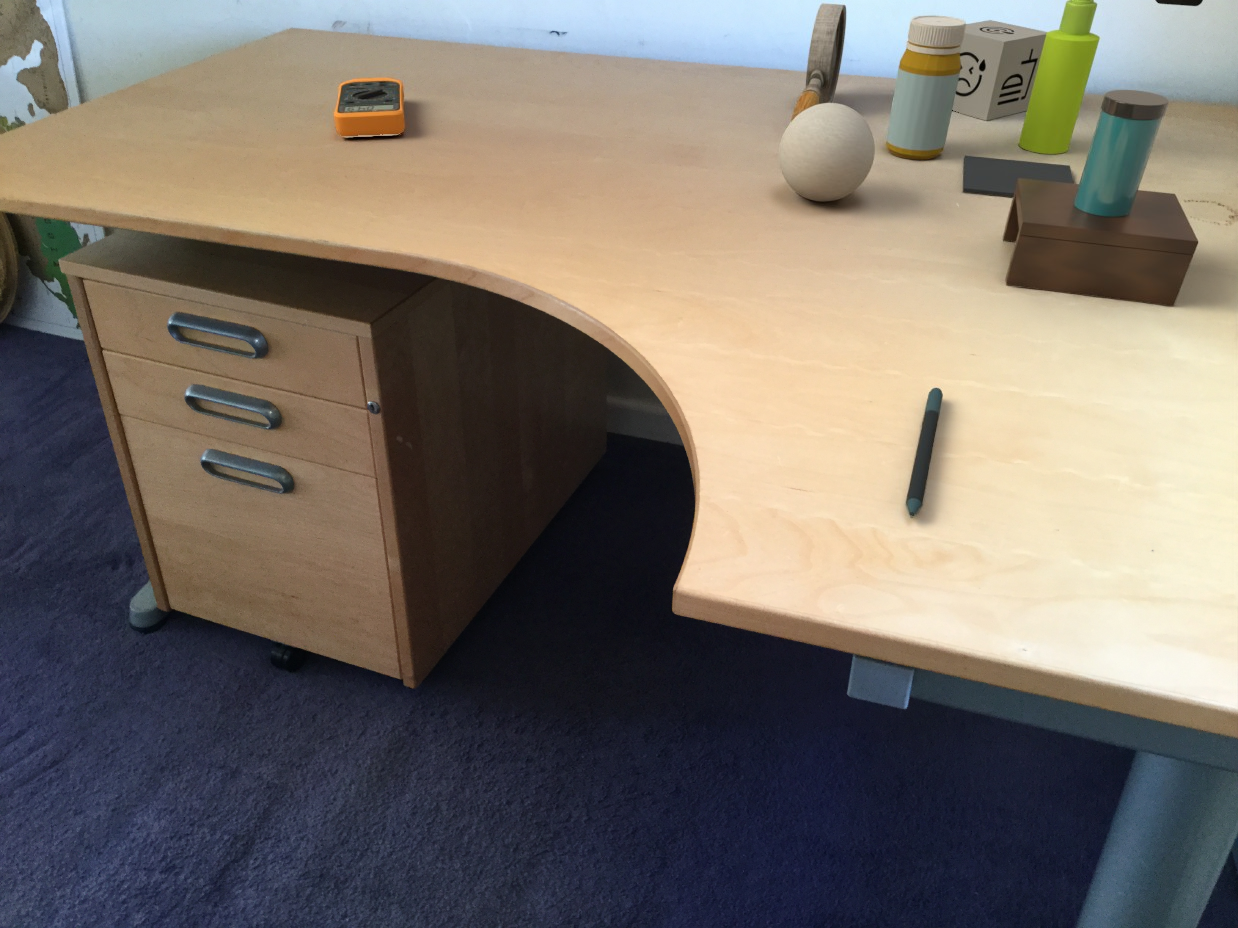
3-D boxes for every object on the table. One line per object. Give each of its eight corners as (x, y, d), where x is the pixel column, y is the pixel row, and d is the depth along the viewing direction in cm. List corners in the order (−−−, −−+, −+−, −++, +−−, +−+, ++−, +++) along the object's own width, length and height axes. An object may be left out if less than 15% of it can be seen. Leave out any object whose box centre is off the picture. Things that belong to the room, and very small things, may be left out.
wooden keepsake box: (1153, 253, 92) (1175, 193, 88) (1173, 306, 82) (1199, 241, 79) (1002, 236, 95) (1017, 177, 91) (1005, 285, 86) (1022, 222, 82)
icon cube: (1032, 109, 132) (1051, 33, 126) (986, 120, 128) (1004, 42, 122) (974, 93, 139) (990, 20, 133) (928, 103, 134) (943, 28, 129)
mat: (1068, 169, 112) (1069, 165, 111) (1077, 204, 102) (1078, 200, 102) (963, 159, 114) (964, 155, 114) (962, 192, 105) (963, 188, 105)
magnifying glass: (814, 84, 114) (849, -13, 128) (789, 82, 115) (827, -14, 129) (807, 176, 124) (840, 77, 138) (784, 173, 125) (819, 75, 139)
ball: (764, 207, 101) (773, 111, 95) (785, 178, 108) (796, 88, 103) (857, 221, 98) (873, 123, 92) (873, 190, 106) (889, 97, 100)
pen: (900, 522, 58) (904, 507, 57) (927, 397, 70) (930, 383, 69) (918, 527, 58) (922, 512, 57) (942, 399, 69) (945, 386, 69)
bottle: (873, 147, 118) (894, 17, 109) (918, 140, 120) (943, 13, 112) (907, 164, 113) (933, 29, 104) (954, 157, 115) (983, 24, 106)
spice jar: (1128, 201, 86) (1164, 92, 81) (1135, 220, 83) (1173, 108, 77) (1070, 195, 88) (1101, 87, 82) (1074, 214, 84) (1108, 102, 78)
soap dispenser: (1061, 159, 115) (1112, -23, 103) (1009, 146, 119) (1053, -31, 107) (1084, 149, 118) (1137, -29, 106) (1033, 136, 122) (1078, -36, 110)
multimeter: (405, 100, 134) (402, 75, 132) (406, 138, 120) (402, 110, 118) (343, 103, 132) (339, 77, 130) (337, 142, 118) (332, 113, 116)
